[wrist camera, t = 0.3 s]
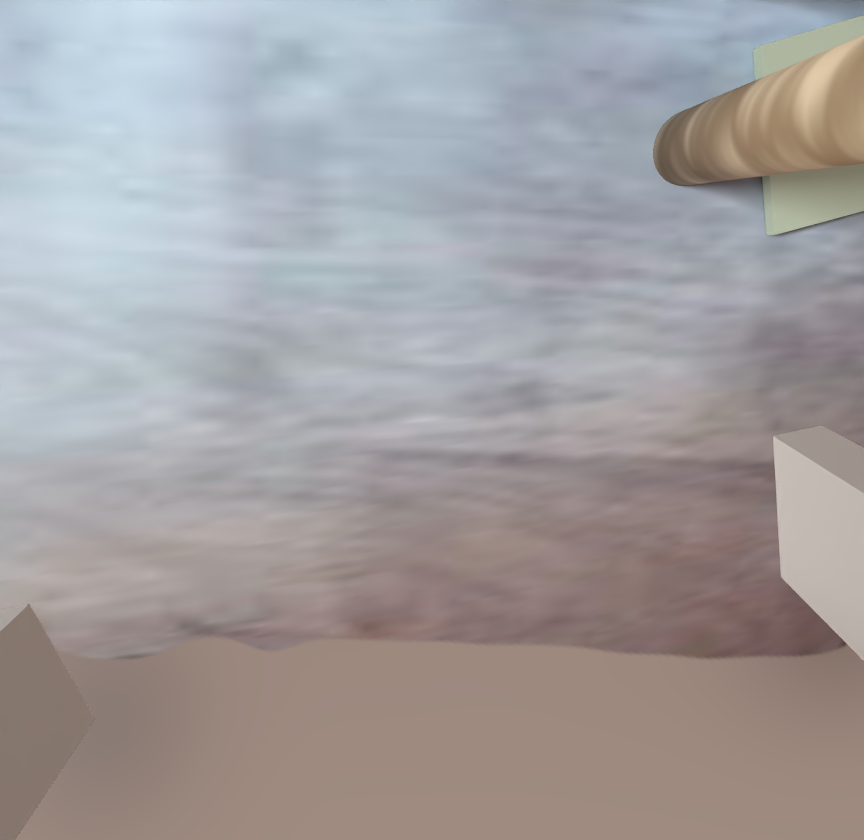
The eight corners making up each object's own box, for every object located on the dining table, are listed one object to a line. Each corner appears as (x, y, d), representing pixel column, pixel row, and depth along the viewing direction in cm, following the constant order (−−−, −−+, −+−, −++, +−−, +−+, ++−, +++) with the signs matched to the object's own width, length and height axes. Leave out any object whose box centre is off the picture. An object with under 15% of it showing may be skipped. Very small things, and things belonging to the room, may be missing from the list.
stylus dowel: (648, 121, 33) (887, 16, 16) (719, 100, 32) (1041, -30, 15) (658, 194, 34) (888, 170, 17) (726, 174, 34) (1030, 131, 17)
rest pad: (752, 49, 32) (760, 45, 31) (941, -7, 31) (954, -13, 30) (766, 234, 35) (773, 235, 34) (938, 188, 34) (949, 187, 33)
